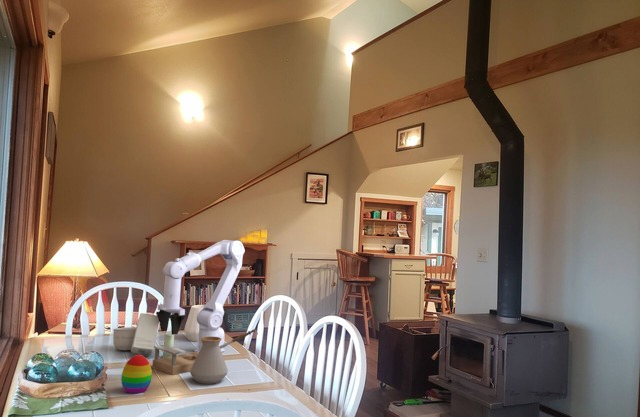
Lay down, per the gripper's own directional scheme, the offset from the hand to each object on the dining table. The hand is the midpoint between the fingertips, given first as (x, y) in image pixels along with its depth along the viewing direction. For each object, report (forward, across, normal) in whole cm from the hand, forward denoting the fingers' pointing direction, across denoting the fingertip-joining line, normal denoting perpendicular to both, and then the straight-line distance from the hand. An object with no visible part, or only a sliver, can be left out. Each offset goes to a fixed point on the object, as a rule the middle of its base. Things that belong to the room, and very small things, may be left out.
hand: (169, 332), depth 177 cm
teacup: (+9, -17, -5) cm, 19 cm away
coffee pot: (+9, +33, -1) cm, 34 cm away
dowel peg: (+9, 0, 0) cm, 9 cm away
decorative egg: (+9, +26, -27) cm, 39 cm away
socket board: (+9, +14, -2) cm, 17 cm away
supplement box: (+7, -6, -7) cm, 11 cm away
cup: (+9, -18, +27) cm, 34 cm away
